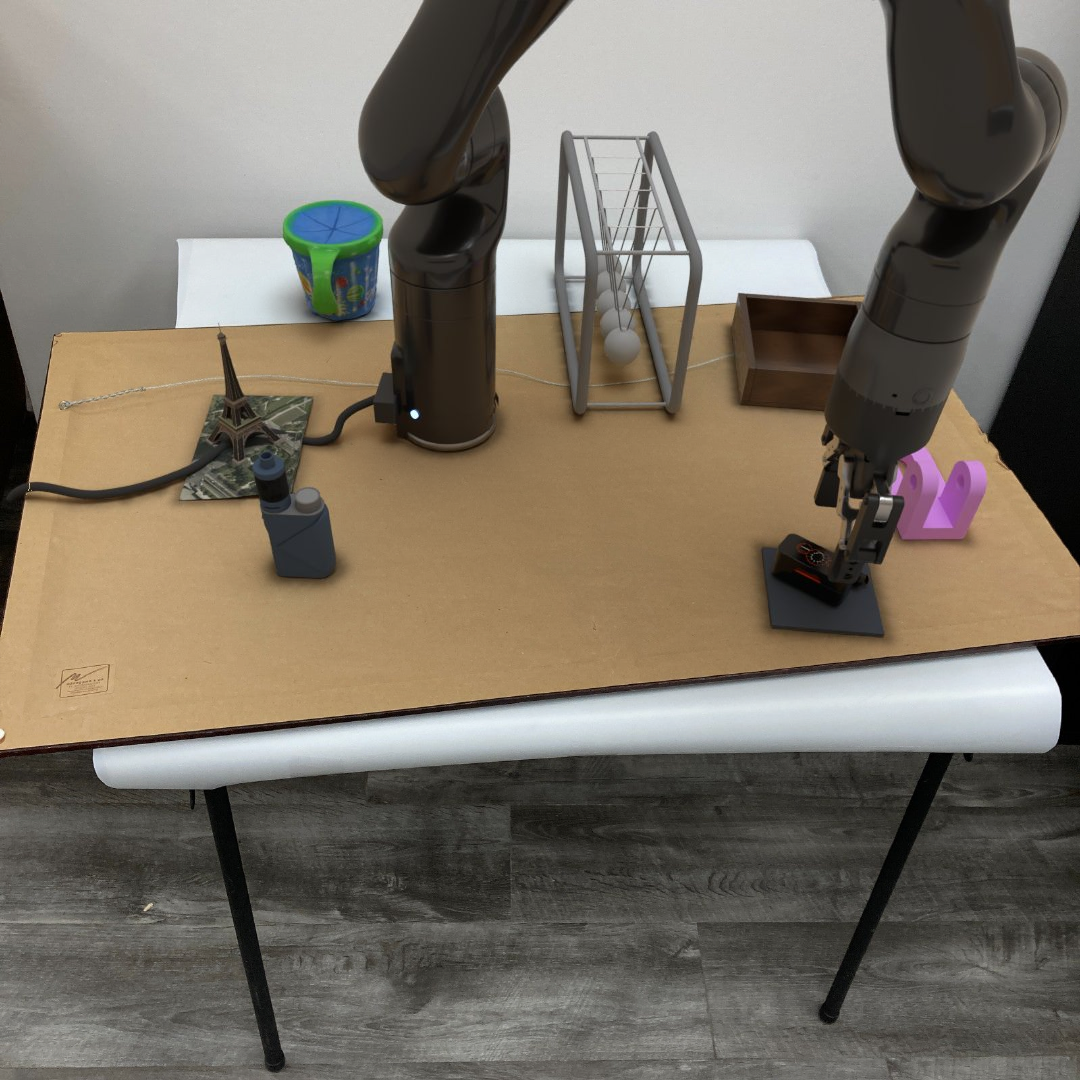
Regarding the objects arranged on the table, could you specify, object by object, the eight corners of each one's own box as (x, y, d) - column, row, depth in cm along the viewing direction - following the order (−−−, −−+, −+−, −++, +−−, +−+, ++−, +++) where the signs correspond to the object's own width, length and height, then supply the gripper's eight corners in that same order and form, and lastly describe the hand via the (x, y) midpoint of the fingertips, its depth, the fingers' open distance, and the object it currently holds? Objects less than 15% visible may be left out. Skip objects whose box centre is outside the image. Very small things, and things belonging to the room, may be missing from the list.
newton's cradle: (553, 271, 118) (560, 123, 106) (638, 271, 119) (656, 124, 107) (574, 423, 97) (587, 260, 85) (679, 422, 98) (706, 260, 85)
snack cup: (369, 348, 105) (360, 262, 98) (274, 337, 106) (258, 250, 99) (404, 276, 116) (399, 194, 109) (318, 267, 117) (307, 184, 110)
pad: (771, 628, 79) (772, 624, 78) (761, 549, 85) (762, 546, 85) (883, 637, 78) (884, 633, 78) (865, 557, 85) (866, 554, 85)
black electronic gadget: (845, 617, 79) (856, 590, 77) (767, 576, 82) (775, 549, 80) (869, 585, 82) (879, 557, 80) (792, 546, 85) (801, 519, 83)
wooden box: (740, 404, 100) (748, 367, 97) (731, 327, 111) (738, 292, 108) (873, 414, 100) (886, 377, 97) (851, 336, 110) (862, 301, 107)
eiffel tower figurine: (294, 499, 87) (271, 375, 78) (178, 500, 87) (141, 374, 78) (313, 399, 98) (295, 279, 89) (211, 399, 98) (181, 278, 88)
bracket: (963, 539, 87) (991, 479, 82) (902, 539, 87) (926, 480, 82) (916, 447, 96) (939, 388, 91) (861, 447, 96) (881, 388, 91)
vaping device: (277, 555, 82) (253, 443, 74) (339, 558, 82) (322, 447, 74) (270, 577, 81) (245, 465, 72) (334, 580, 81) (316, 469, 72)
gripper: (826, 311, 71) (777, 478, 83) (856, 432, 61) (795, 603, 73) (929, 320, 71) (866, 486, 83) (976, 442, 61) (896, 612, 73)
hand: (833, 540), depth 78 cm, fingers open, 8 cm apart
